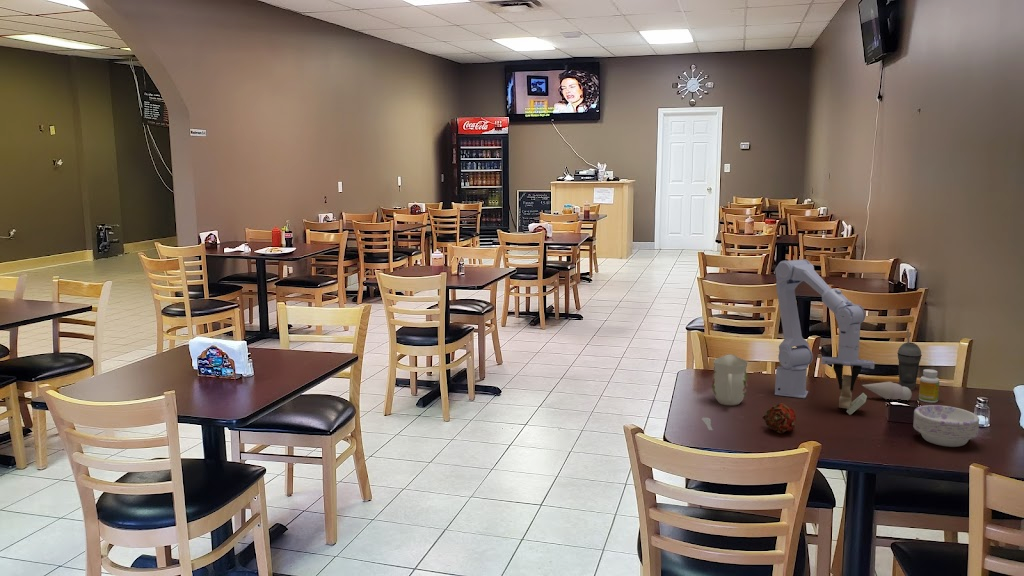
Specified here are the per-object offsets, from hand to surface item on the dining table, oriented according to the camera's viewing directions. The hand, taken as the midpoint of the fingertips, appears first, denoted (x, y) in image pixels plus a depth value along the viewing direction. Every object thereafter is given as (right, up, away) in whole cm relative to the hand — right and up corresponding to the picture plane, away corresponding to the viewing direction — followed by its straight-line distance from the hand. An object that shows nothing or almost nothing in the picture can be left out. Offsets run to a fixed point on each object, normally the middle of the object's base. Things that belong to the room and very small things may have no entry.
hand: (846, 389), depth 232 cm
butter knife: (-45, -10, -16) cm, 49 cm away
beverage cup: (+31, -3, +25) cm, 40 cm away
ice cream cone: (+18, -5, +12) cm, 22 cm away
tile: (+1, -6, 0) cm, 7 cm away
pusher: (0, -5, +1) cm, 5 cm away
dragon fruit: (-26, -10, -16) cm, 32 cm away
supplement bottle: (+31, -5, +11) cm, 33 cm away
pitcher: (-33, -6, +10) cm, 35 cm away
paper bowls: (+15, -11, -26) cm, 32 cm away
